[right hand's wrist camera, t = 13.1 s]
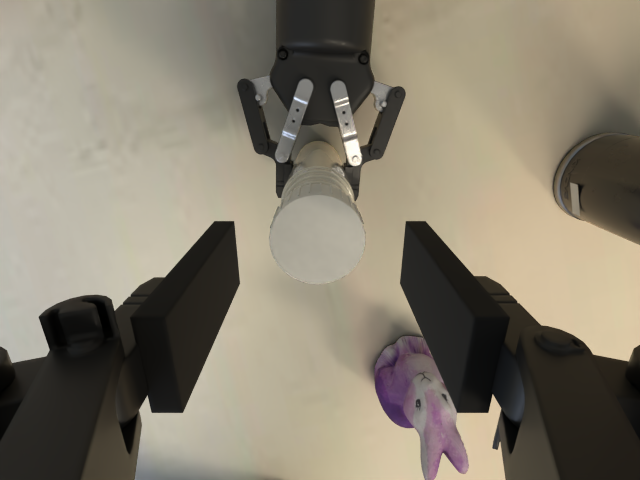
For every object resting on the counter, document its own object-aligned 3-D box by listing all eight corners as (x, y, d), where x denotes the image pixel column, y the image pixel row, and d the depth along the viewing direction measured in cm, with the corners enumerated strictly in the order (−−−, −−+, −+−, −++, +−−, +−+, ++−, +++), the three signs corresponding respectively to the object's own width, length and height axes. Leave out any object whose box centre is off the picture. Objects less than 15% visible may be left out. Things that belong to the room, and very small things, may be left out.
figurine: (413, 317, 45) (456, 415, 31) (452, 370, 48) (508, 481, 34) (351, 354, 47) (365, 461, 33) (393, 402, 50) (422, 519, 36)
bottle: (335, 188, 39) (355, 290, 17) (293, 180, 39) (261, 274, 17) (344, 145, 37) (378, 199, 16) (300, 136, 37) (275, 180, 15)
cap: (350, 271, 19) (354, 292, 17) (268, 257, 19) (262, 276, 17) (370, 191, 18) (377, 203, 15) (281, 174, 17) (275, 184, 15)
